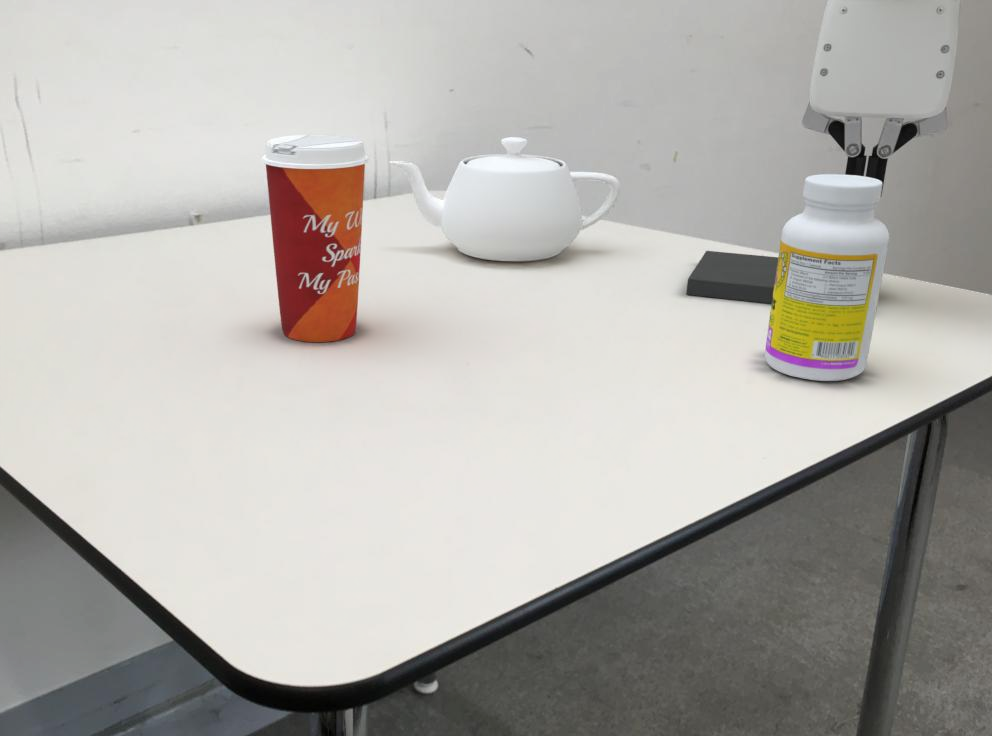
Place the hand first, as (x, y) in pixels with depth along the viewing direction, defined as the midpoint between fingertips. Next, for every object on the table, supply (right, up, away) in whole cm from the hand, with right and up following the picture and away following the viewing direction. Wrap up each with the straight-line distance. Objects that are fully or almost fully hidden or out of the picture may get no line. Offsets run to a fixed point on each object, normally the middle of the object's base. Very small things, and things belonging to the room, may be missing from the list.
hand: (860, 205), depth 90 cm
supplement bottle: (-9, -15, -14) cm, 22 cm away
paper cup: (-44, -11, -7) cm, 46 cm away
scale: (-5, -6, +5) cm, 9 cm away
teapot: (-28, -1, +17) cm, 32 cm away
